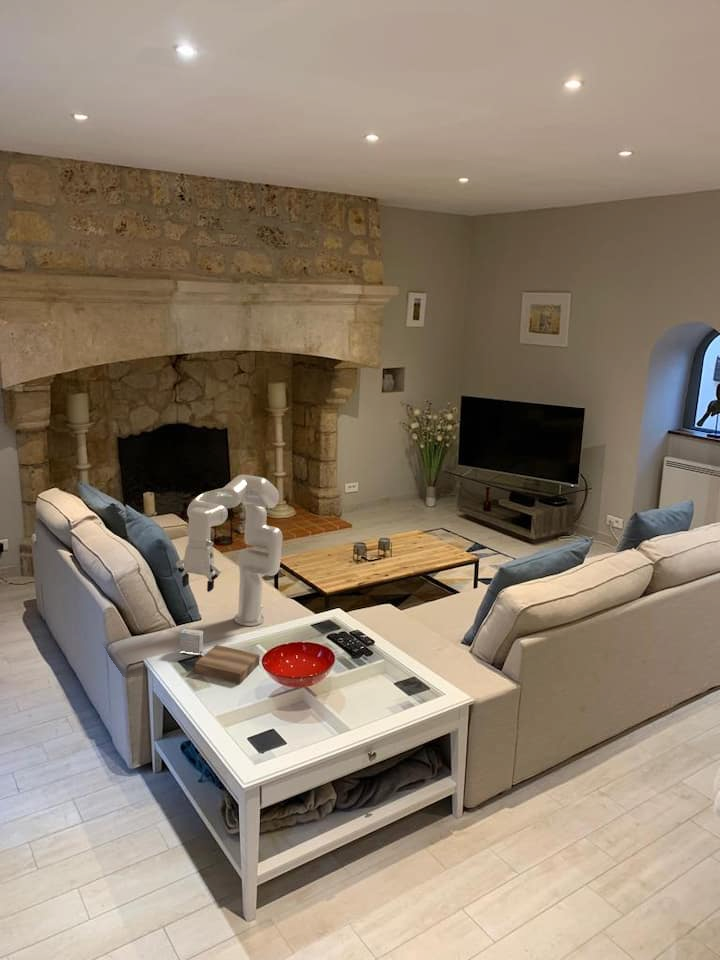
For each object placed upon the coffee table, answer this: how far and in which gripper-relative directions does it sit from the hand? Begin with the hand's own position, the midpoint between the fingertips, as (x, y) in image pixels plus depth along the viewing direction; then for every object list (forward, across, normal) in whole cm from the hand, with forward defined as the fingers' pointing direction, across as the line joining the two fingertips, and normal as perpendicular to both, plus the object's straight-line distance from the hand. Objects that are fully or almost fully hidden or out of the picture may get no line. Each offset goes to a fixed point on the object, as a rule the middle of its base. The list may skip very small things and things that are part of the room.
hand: (197, 588), depth 259 cm
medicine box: (+31, +7, -9) cm, 33 cm away
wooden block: (+31, -11, -4) cm, 33 cm away
